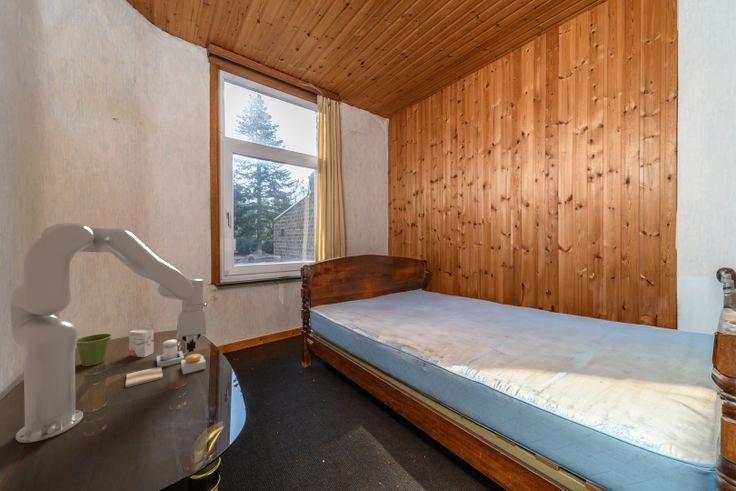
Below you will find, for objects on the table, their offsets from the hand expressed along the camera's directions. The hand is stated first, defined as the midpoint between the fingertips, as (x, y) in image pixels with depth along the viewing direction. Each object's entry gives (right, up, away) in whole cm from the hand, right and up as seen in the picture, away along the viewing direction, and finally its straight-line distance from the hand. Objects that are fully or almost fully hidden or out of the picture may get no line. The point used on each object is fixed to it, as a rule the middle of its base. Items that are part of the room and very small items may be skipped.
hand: (190, 350), depth 114 cm
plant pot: (-46, -7, +5) cm, 47 cm away
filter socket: (-14, -7, +7) cm, 17 cm away
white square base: (0, -8, +1) cm, 8 cm away
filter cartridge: (-14, -8, +7) cm, 17 cm away
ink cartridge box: (-33, -7, +14) cm, 36 cm away
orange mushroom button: (0, -7, +1) cm, 7 cm away
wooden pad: (-14, -8, -7) cm, 17 cm away
